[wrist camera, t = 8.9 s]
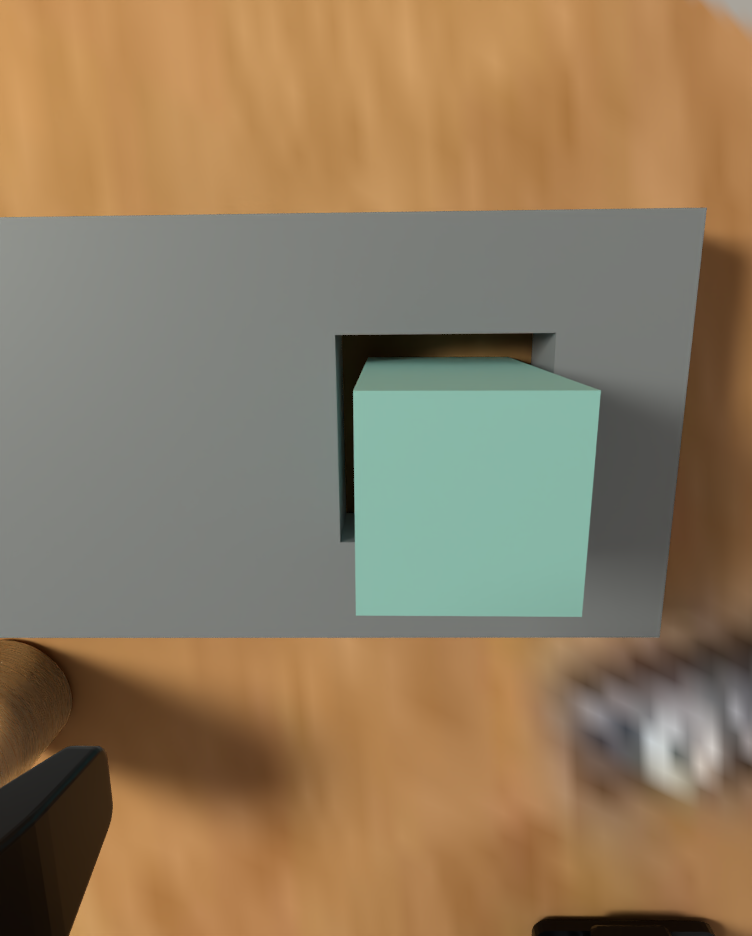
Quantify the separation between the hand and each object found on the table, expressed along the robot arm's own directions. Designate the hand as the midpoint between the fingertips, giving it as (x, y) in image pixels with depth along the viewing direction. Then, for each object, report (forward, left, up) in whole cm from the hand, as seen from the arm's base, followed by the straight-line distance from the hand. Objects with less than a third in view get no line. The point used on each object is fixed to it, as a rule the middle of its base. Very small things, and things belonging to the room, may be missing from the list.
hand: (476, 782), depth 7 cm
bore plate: (+2, +4, -12) cm, 13 cm away
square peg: (+2, 0, -12) cm, 12 cm away
